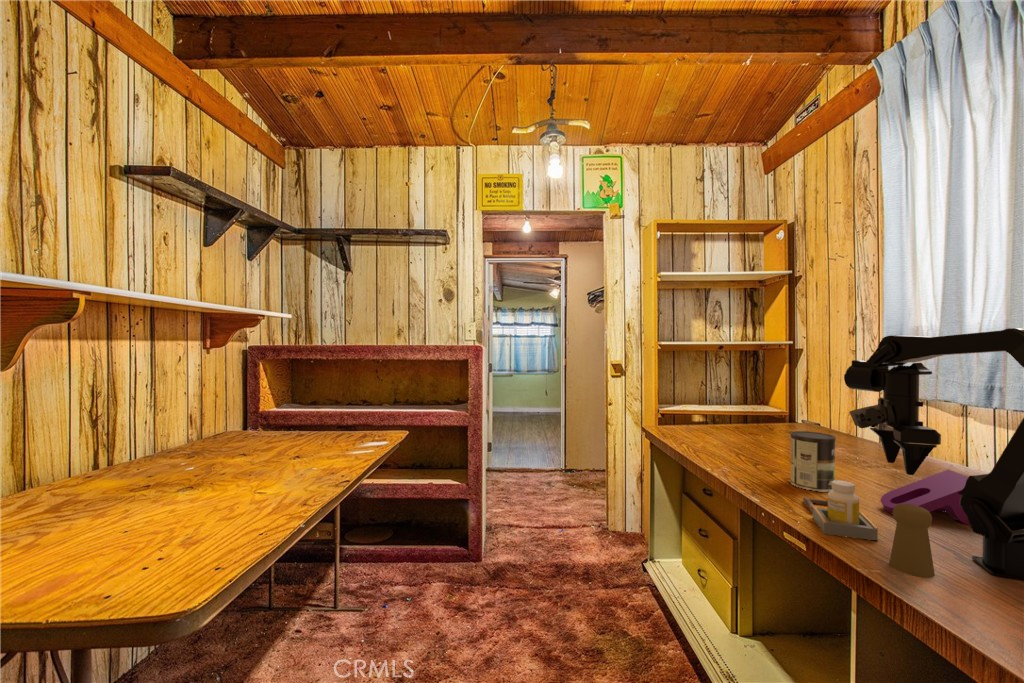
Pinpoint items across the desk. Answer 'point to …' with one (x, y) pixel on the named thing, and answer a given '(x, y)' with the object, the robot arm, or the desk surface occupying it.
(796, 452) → the coffee can
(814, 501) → the frame
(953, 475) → the mounting bracket
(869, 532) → the socket plate
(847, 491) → the supplement bottle
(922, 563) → the cork
